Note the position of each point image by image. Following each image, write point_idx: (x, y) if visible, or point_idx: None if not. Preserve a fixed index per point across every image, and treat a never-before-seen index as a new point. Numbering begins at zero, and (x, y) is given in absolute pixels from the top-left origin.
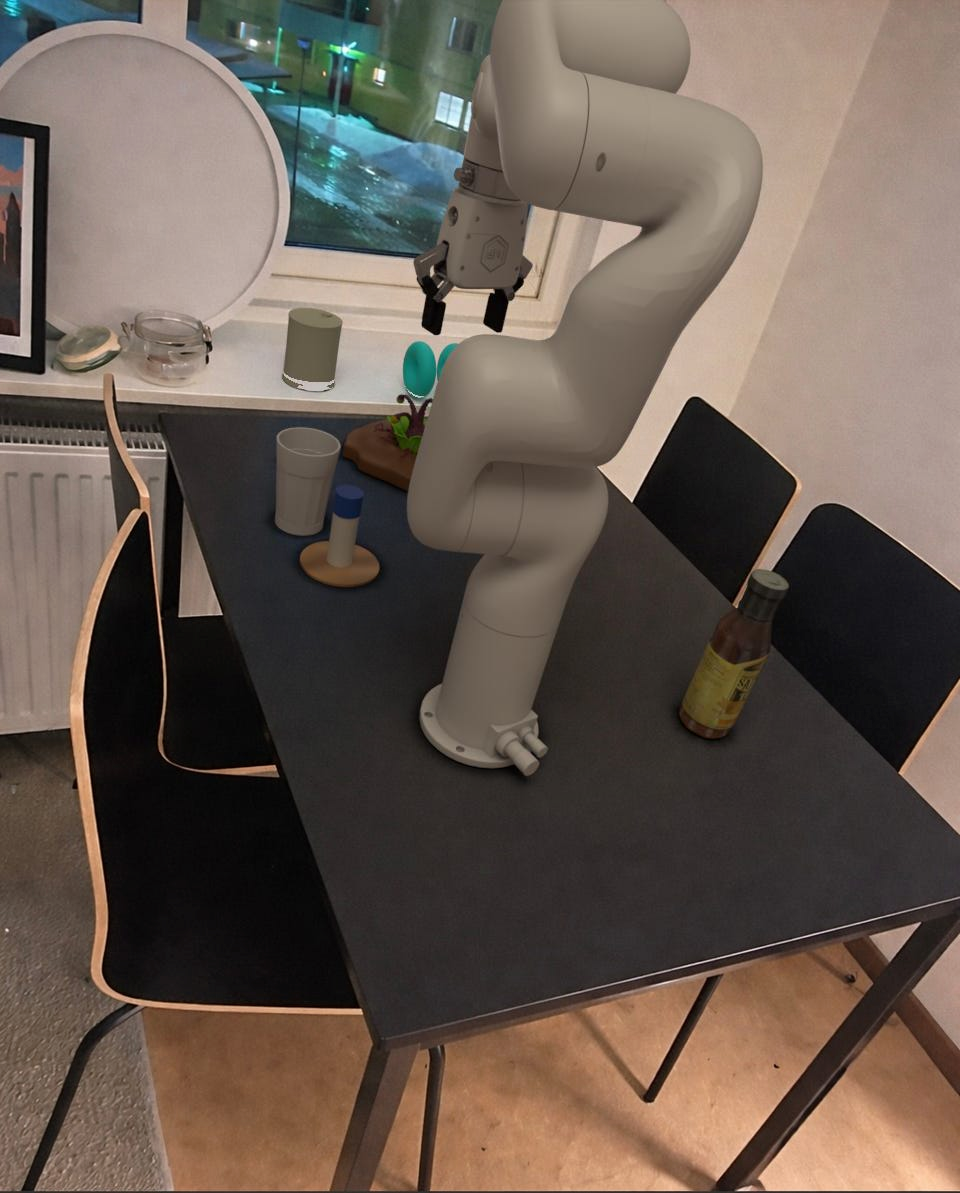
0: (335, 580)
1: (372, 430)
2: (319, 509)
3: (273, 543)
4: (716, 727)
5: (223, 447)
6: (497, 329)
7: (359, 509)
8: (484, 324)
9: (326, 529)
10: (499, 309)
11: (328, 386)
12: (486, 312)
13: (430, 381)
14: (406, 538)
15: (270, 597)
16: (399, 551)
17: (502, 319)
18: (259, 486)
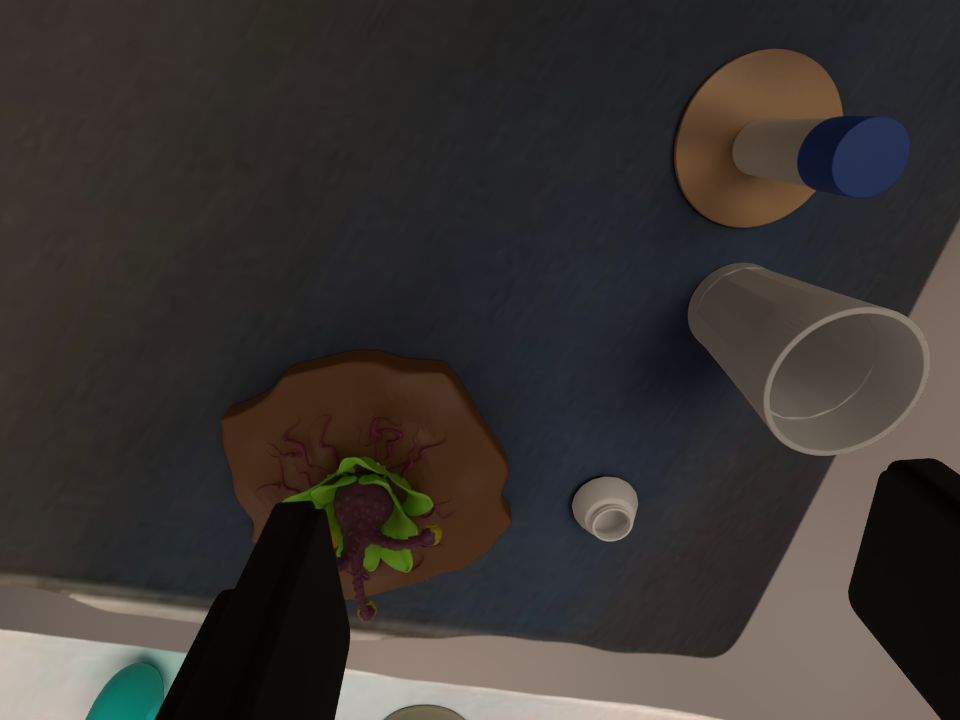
0: (814, 77)
1: (432, 555)
2: (755, 278)
3: (823, 253)
4: None
5: (703, 561)
6: (320, 516)
7: (838, 120)
8: (347, 622)
9: (697, 274)
10: (279, 682)
11: (403, 716)
12: (332, 708)
13: None
14: (557, 198)
15: (954, 72)
16: (603, 153)
17: (270, 576)
18: (722, 438)
